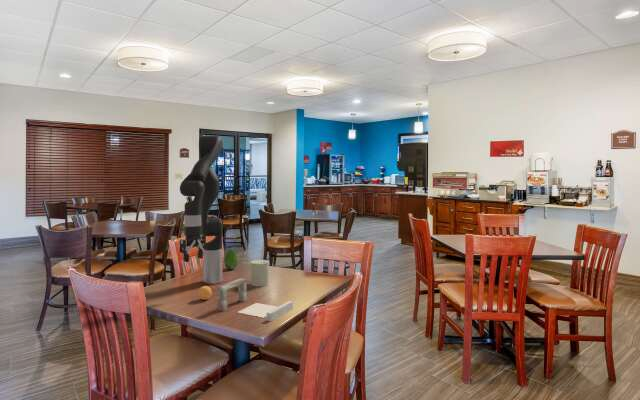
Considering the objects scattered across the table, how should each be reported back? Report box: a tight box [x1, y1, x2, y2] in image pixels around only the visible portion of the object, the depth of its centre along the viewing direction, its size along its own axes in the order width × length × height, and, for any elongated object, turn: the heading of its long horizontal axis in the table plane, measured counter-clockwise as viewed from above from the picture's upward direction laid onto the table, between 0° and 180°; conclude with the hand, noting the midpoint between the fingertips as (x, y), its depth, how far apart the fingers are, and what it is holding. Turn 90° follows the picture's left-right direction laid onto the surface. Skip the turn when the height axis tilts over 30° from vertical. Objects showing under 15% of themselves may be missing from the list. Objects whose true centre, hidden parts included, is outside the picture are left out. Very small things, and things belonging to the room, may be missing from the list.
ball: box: [197, 285, 213, 301], centre depth 174 cm, size 6×6×6 cm
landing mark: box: [236, 302, 277, 319], centre depth 161 cm, size 13×13×1 cm
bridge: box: [217, 277, 248, 312], centre depth 167 cm, size 3×15×10 cm, turn 153°
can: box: [250, 259, 270, 287], centre depth 199 cm, size 9×9×12 cm
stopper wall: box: [266, 300, 294, 322], centre depth 156 cm, size 2×16×3 cm, turn 153°
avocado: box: [223, 248, 239, 270], centre depth 231 cm, size 8×8×12 cm
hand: (193, 260), depth 178 cm, fingers open, 8 cm apart
